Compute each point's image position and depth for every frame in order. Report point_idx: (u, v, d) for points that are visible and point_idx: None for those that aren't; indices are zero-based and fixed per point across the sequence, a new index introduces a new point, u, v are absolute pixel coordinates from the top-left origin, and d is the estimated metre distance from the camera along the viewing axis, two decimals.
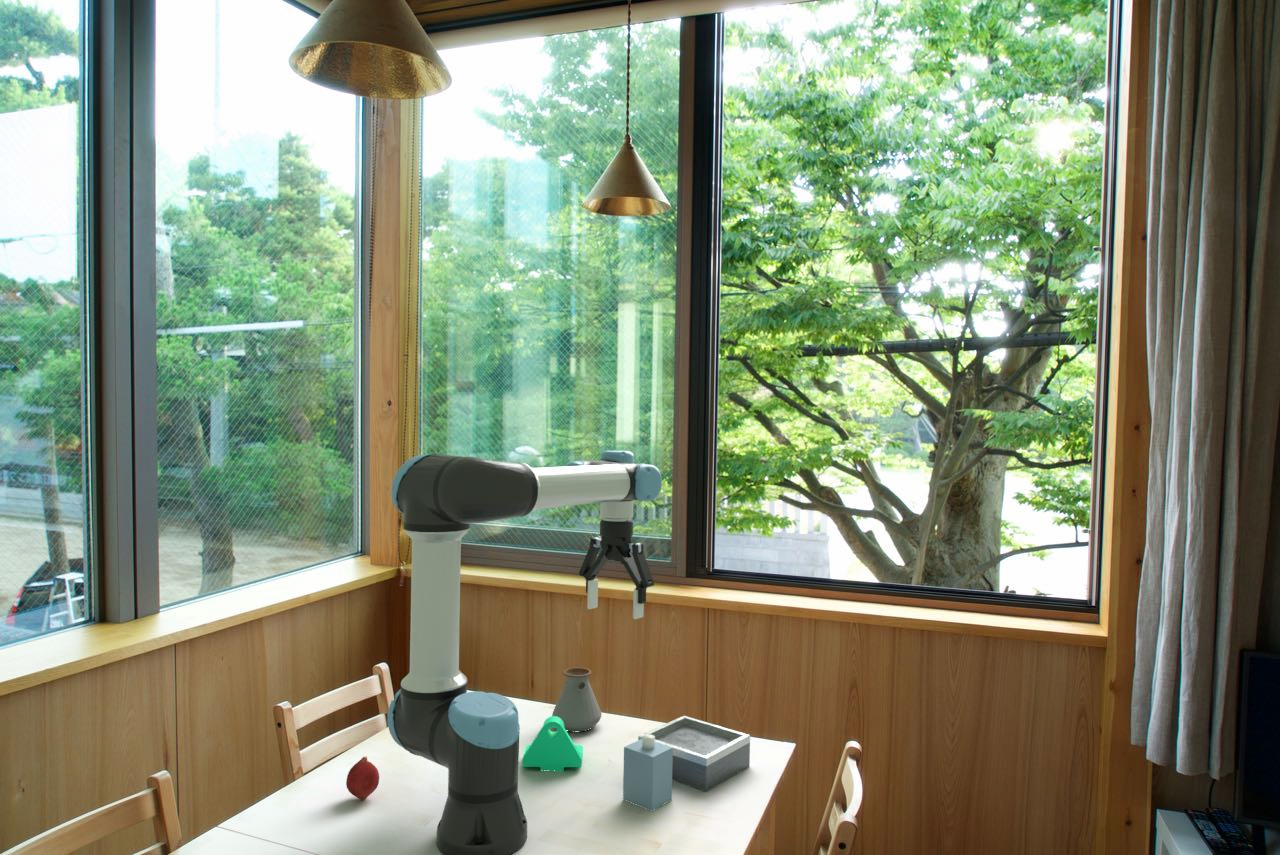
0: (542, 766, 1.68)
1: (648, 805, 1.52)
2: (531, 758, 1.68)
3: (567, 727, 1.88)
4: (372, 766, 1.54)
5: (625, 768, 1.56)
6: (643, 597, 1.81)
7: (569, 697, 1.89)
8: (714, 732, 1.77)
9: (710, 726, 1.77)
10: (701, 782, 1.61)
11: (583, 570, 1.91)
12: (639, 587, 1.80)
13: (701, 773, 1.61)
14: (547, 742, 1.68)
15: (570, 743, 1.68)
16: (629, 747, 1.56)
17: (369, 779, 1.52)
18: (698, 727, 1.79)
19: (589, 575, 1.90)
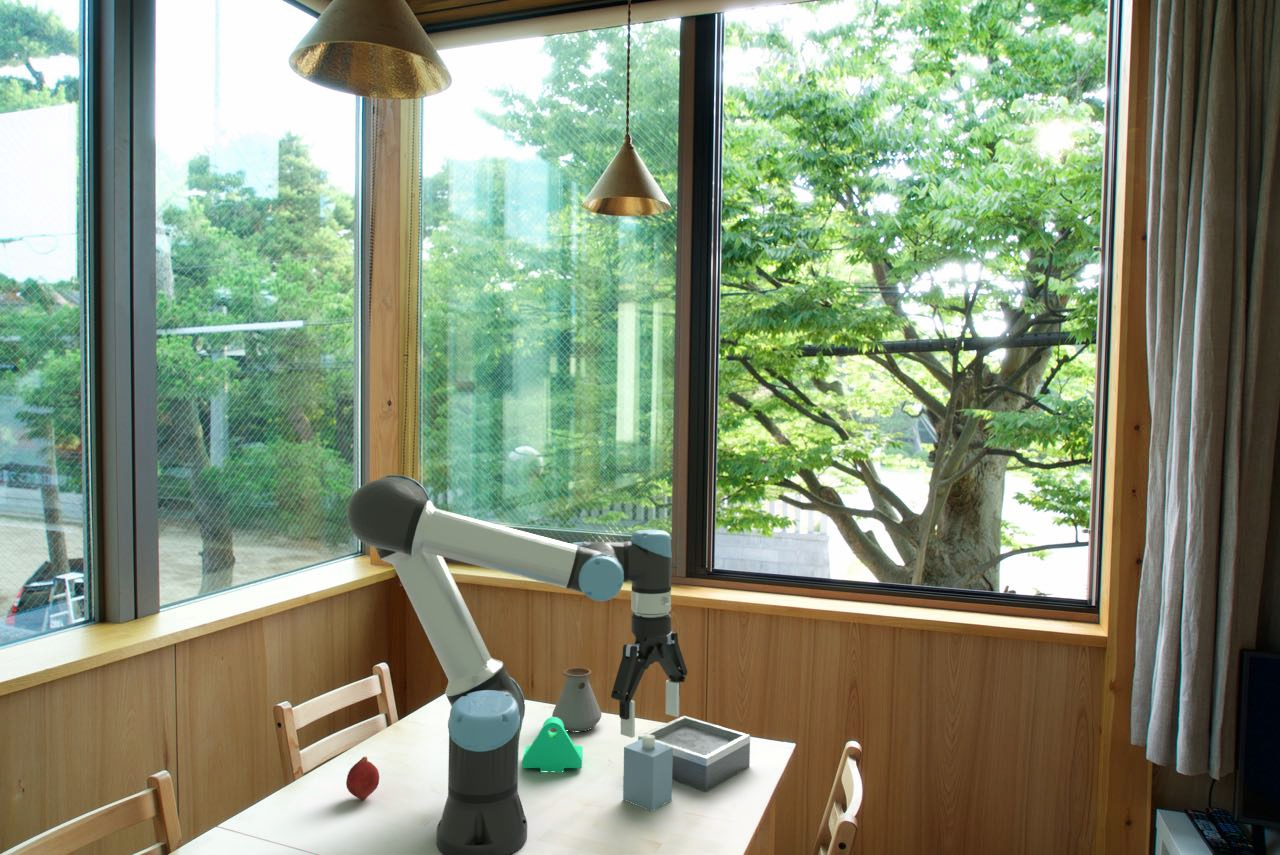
0: (542, 767, 1.68)
1: (648, 805, 1.52)
2: (531, 759, 1.67)
3: (567, 727, 1.88)
4: (372, 766, 1.54)
5: (625, 768, 1.56)
6: (621, 711, 1.50)
7: (569, 697, 1.89)
8: (714, 732, 1.77)
9: (710, 726, 1.77)
10: (701, 782, 1.61)
11: None
12: None
13: (701, 773, 1.61)
14: (547, 743, 1.68)
15: (570, 744, 1.68)
16: (629, 747, 1.56)
17: (369, 779, 1.52)
18: (698, 727, 1.79)
19: None
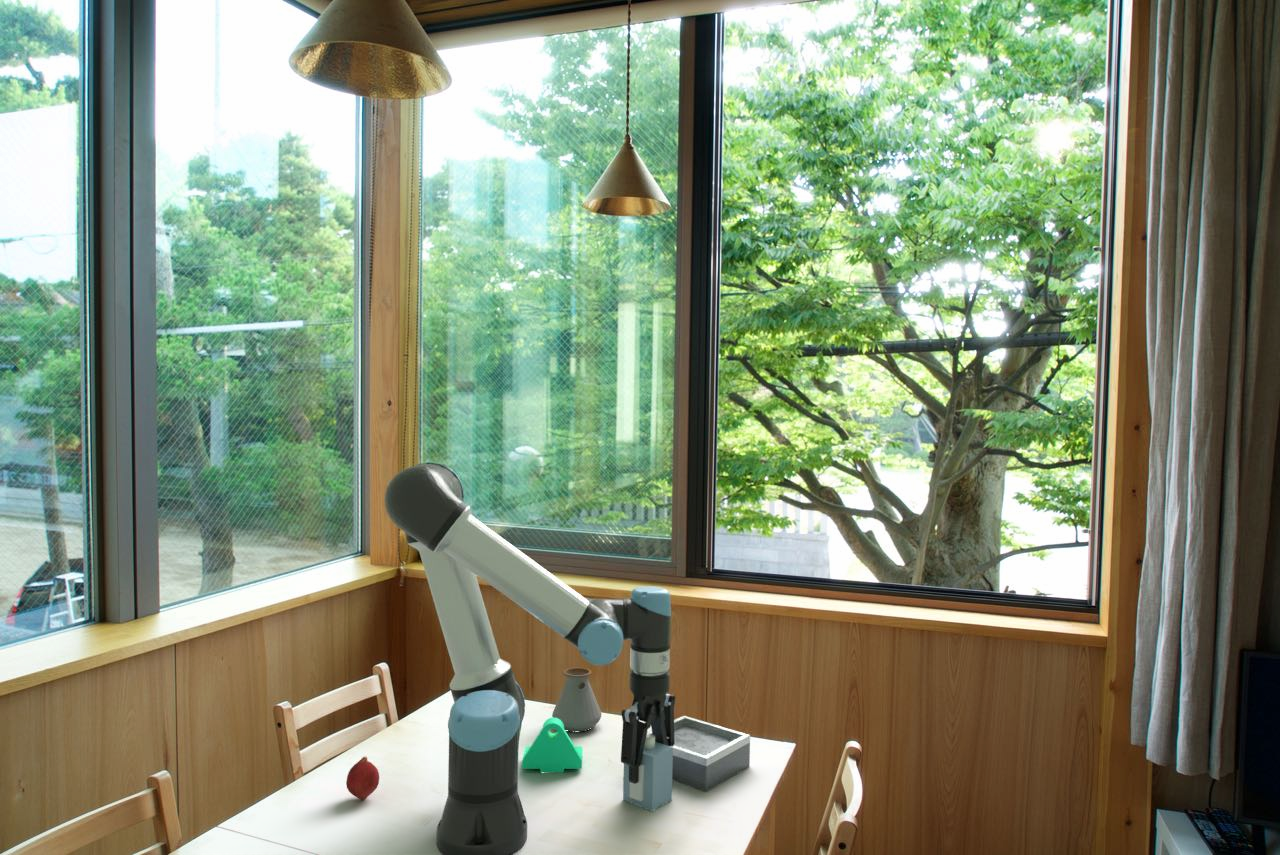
0: (542, 768, 1.67)
1: (648, 805, 1.52)
2: (531, 760, 1.67)
3: (567, 727, 1.88)
4: (372, 766, 1.54)
5: (625, 768, 1.56)
6: (630, 775, 1.53)
7: (569, 697, 1.89)
8: (714, 732, 1.77)
9: (710, 726, 1.77)
10: (701, 782, 1.61)
11: None
12: None
13: (701, 773, 1.61)
14: (547, 744, 1.67)
15: (570, 744, 1.67)
16: None
17: (369, 779, 1.52)
18: (698, 727, 1.79)
19: None
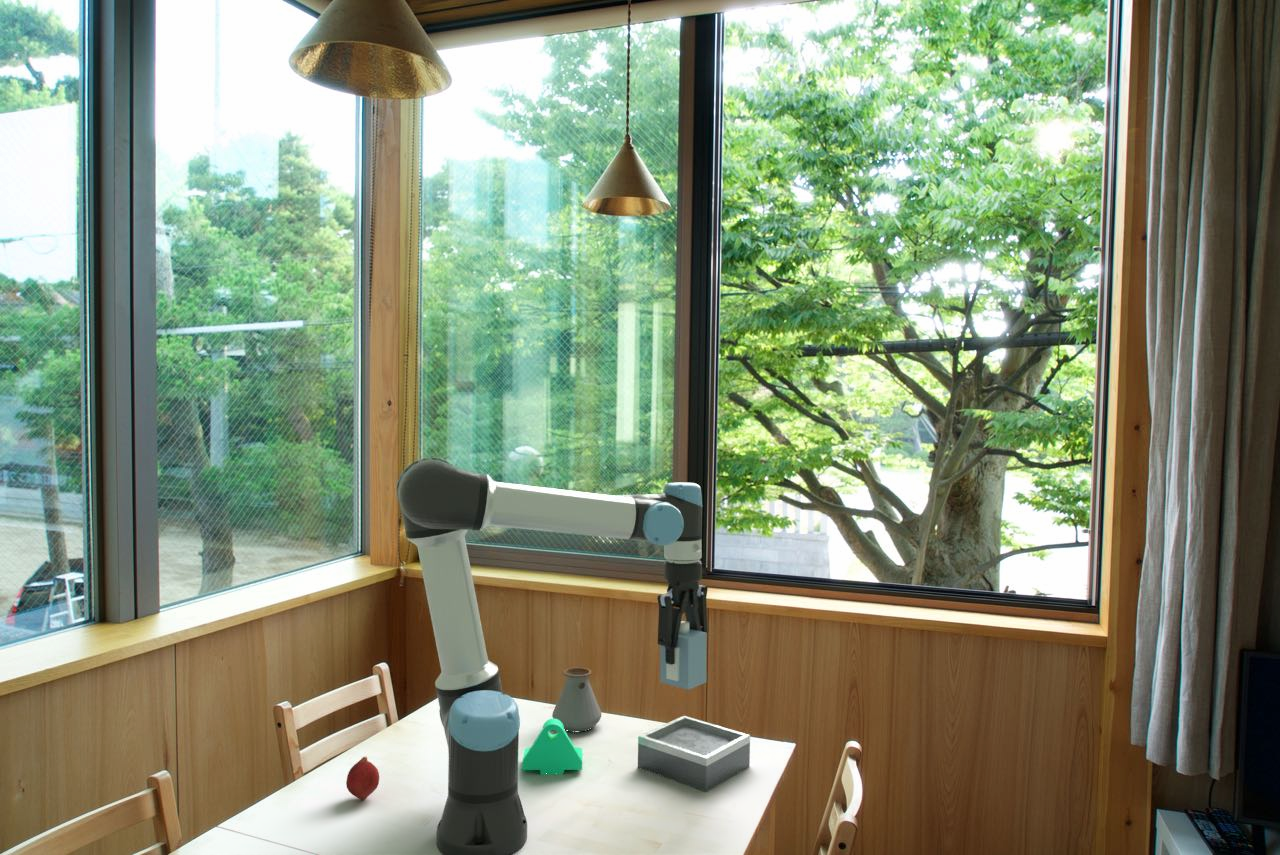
0: (542, 769, 1.67)
1: (684, 684, 1.62)
2: (531, 761, 1.66)
3: (567, 727, 1.88)
4: (372, 766, 1.54)
5: (662, 652, 1.65)
6: (667, 656, 1.62)
7: (569, 697, 1.89)
8: (714, 732, 1.77)
9: (710, 726, 1.77)
10: (701, 782, 1.61)
11: None
12: None
13: (701, 773, 1.61)
14: (547, 745, 1.67)
15: (570, 745, 1.67)
16: None
17: (369, 779, 1.52)
18: (698, 727, 1.79)
19: None
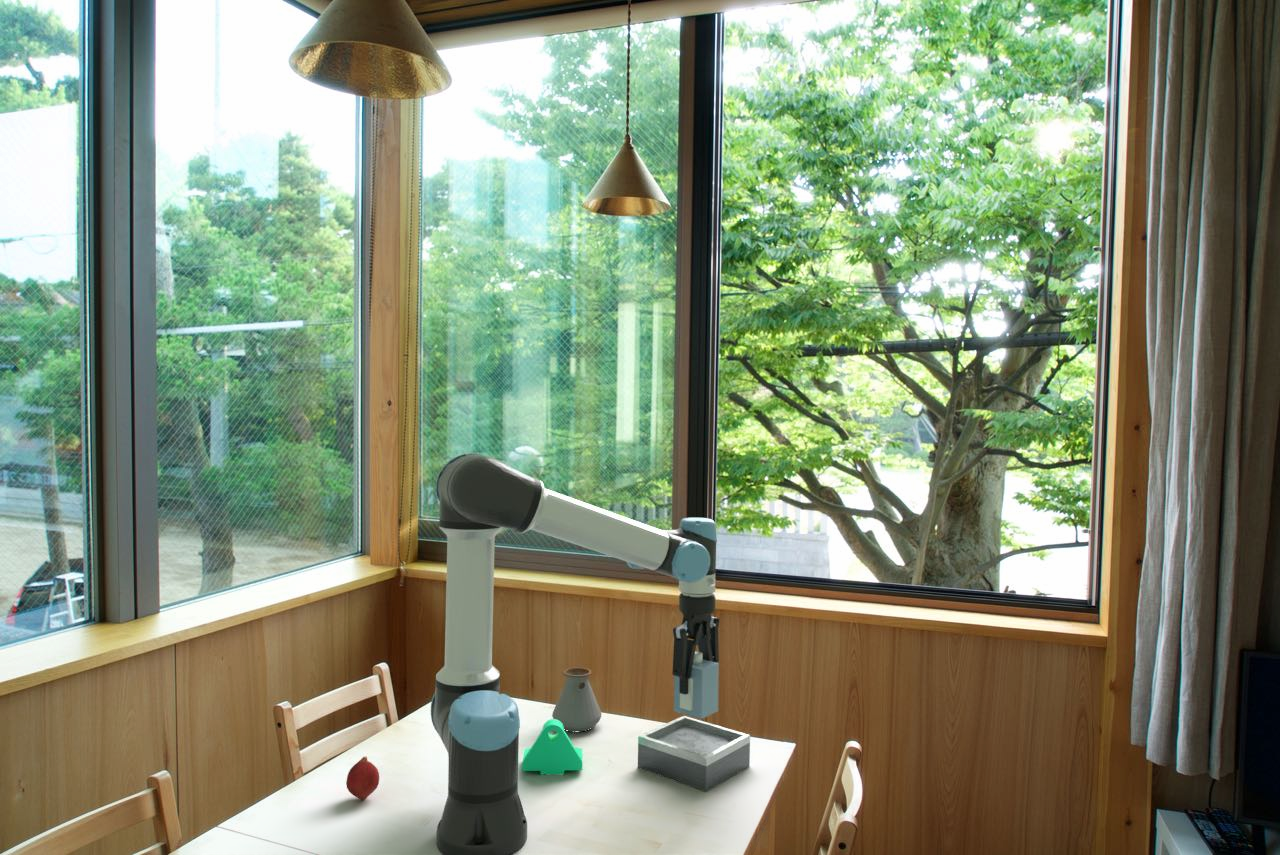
0: (542, 770, 1.66)
1: (697, 713, 1.68)
2: (531, 762, 1.66)
3: (567, 727, 1.88)
4: (372, 766, 1.54)
5: (675, 682, 1.71)
6: (681, 687, 1.68)
7: (569, 697, 1.89)
8: (714, 732, 1.77)
9: (710, 726, 1.77)
10: (701, 782, 1.61)
11: None
12: None
13: (701, 773, 1.61)
14: (547, 745, 1.66)
15: (571, 746, 1.67)
16: None
17: (369, 779, 1.52)
18: (698, 727, 1.79)
19: None
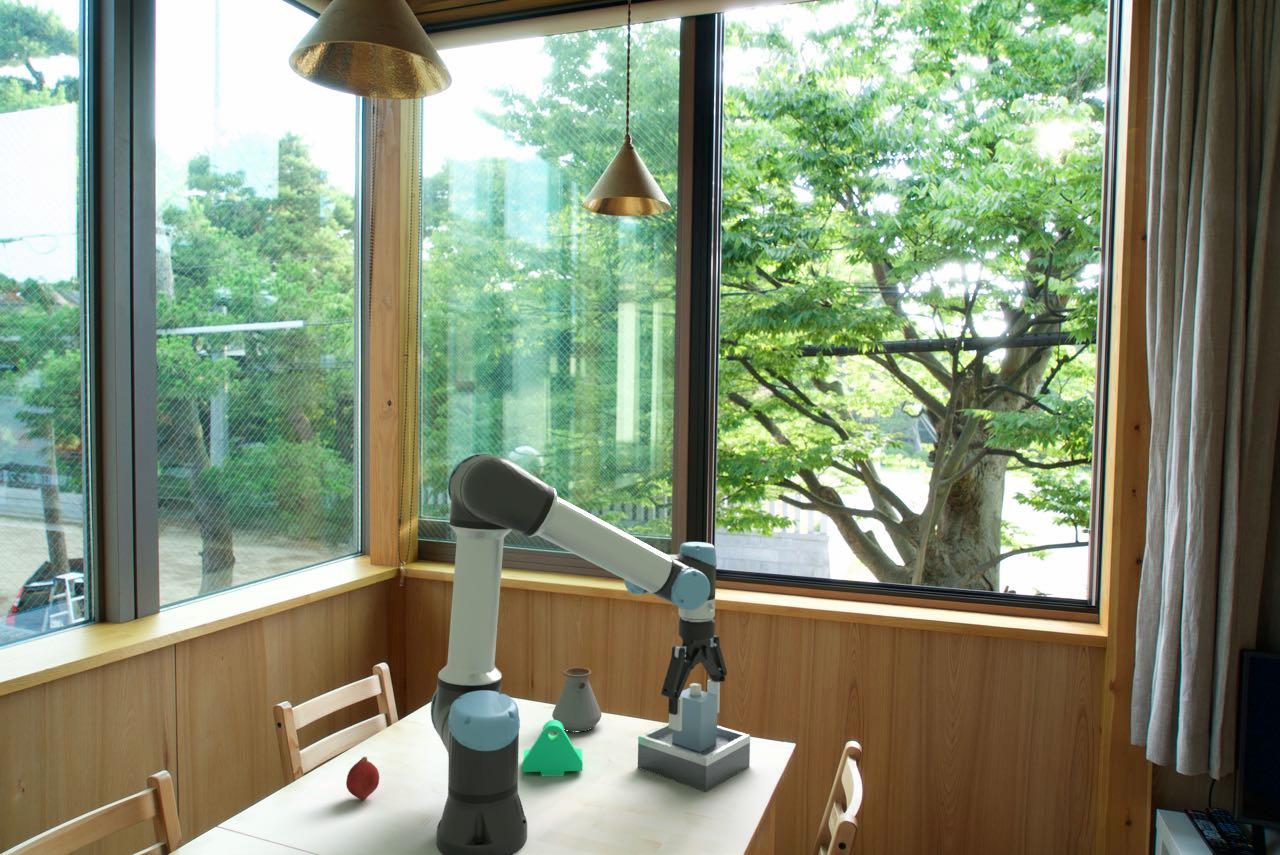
0: (542, 771, 1.66)
1: (696, 746, 1.67)
2: (531, 763, 1.66)
3: (567, 727, 1.88)
4: (372, 766, 1.54)
5: None
6: (670, 707, 1.65)
7: (569, 697, 1.89)
8: None
9: None
10: (701, 782, 1.61)
11: None
12: None
13: (701, 773, 1.61)
14: (547, 746, 1.66)
15: (571, 747, 1.66)
16: None
17: (369, 779, 1.52)
18: None
19: None
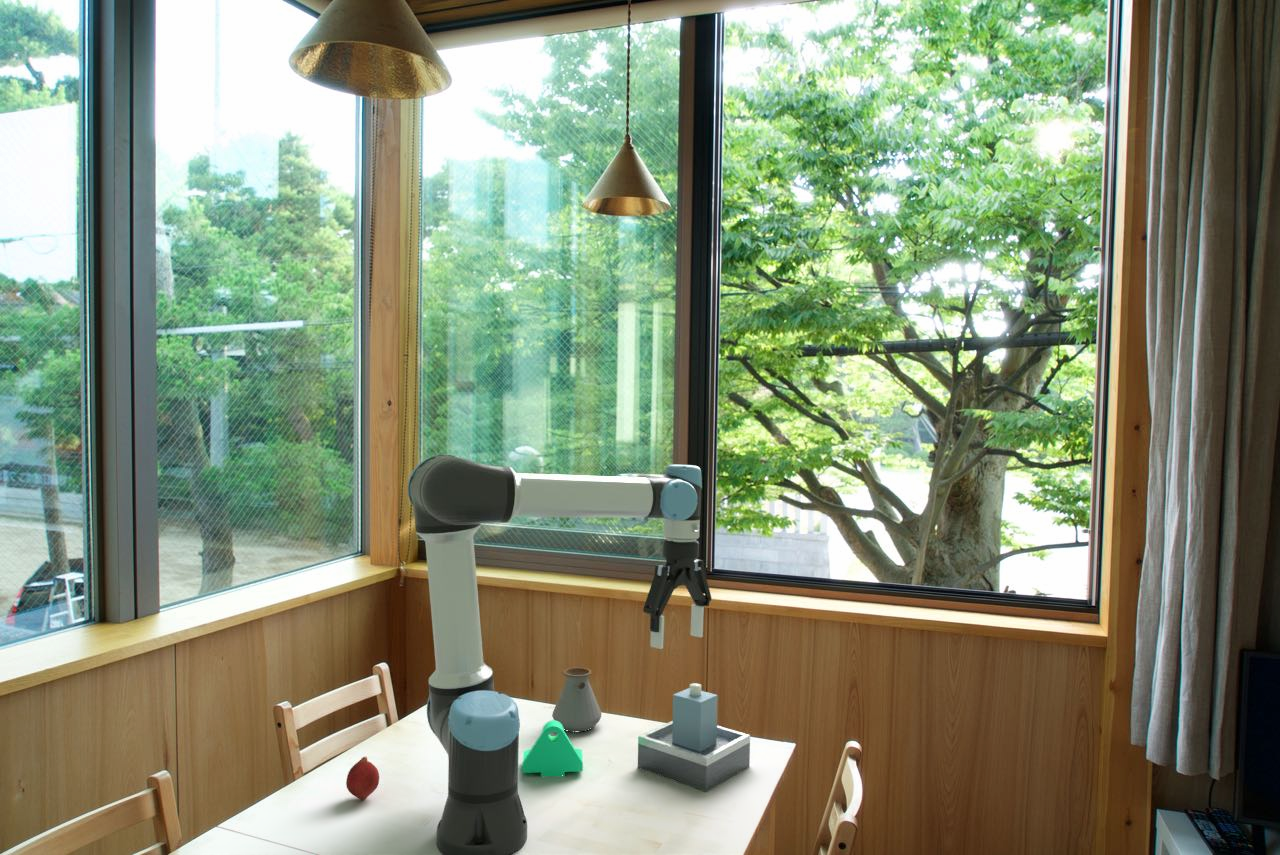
0: (542, 772, 1.66)
1: (696, 746, 1.67)
2: (531, 763, 1.65)
3: (567, 727, 1.88)
4: (372, 766, 1.54)
5: (674, 714, 1.71)
6: (652, 624, 1.65)
7: (569, 697, 1.89)
8: None
9: None
10: (701, 782, 1.61)
11: None
12: None
13: (701, 773, 1.61)
14: (548, 747, 1.66)
15: (571, 747, 1.66)
16: (678, 695, 1.71)
17: (369, 779, 1.52)
18: None
19: None
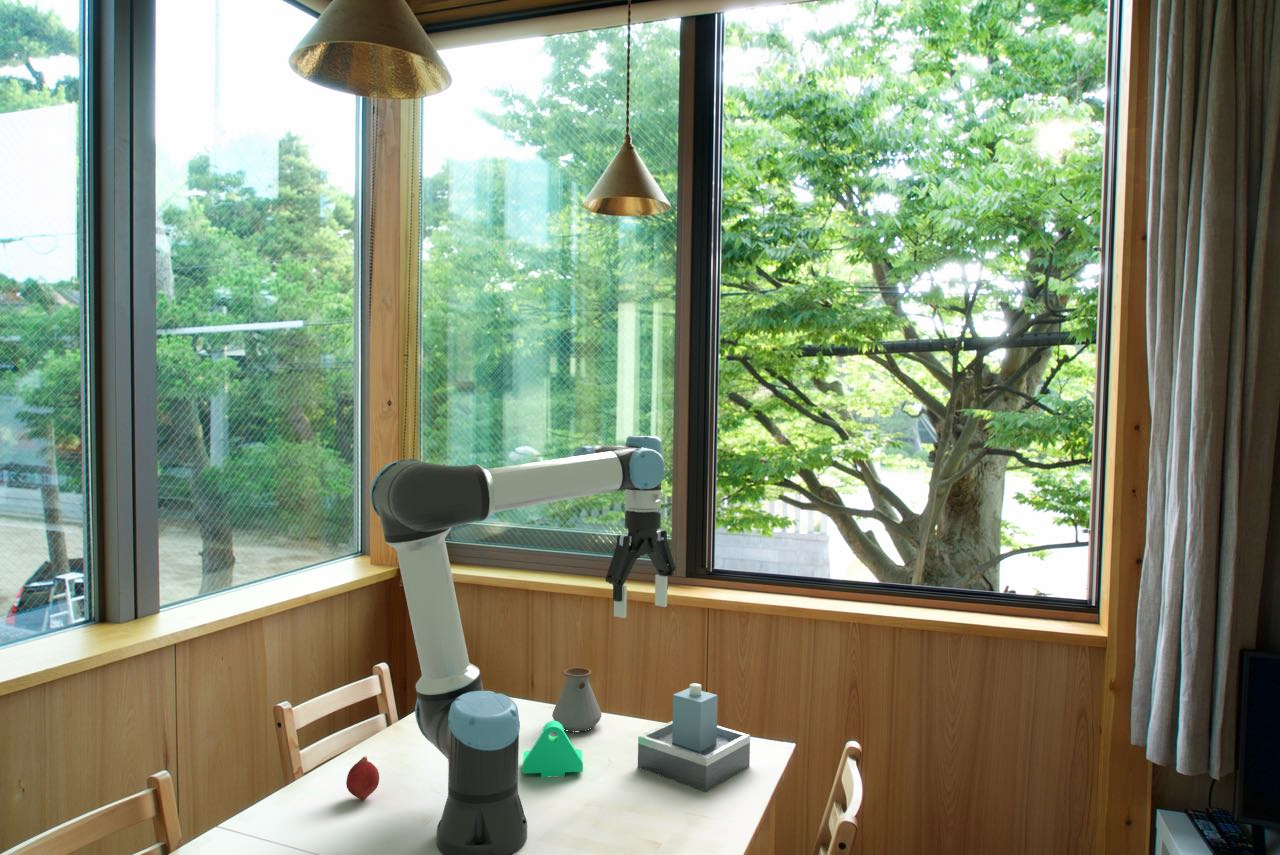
0: (542, 772, 1.65)
1: (696, 746, 1.67)
2: (531, 764, 1.65)
3: (567, 727, 1.88)
4: (372, 766, 1.54)
5: (674, 714, 1.71)
6: (614, 594, 1.66)
7: (569, 697, 1.89)
8: None
9: None
10: (701, 782, 1.61)
11: None
12: None
13: (701, 773, 1.61)
14: (548, 747, 1.65)
15: (571, 748, 1.66)
16: (678, 695, 1.71)
17: (369, 779, 1.52)
18: None
19: None
